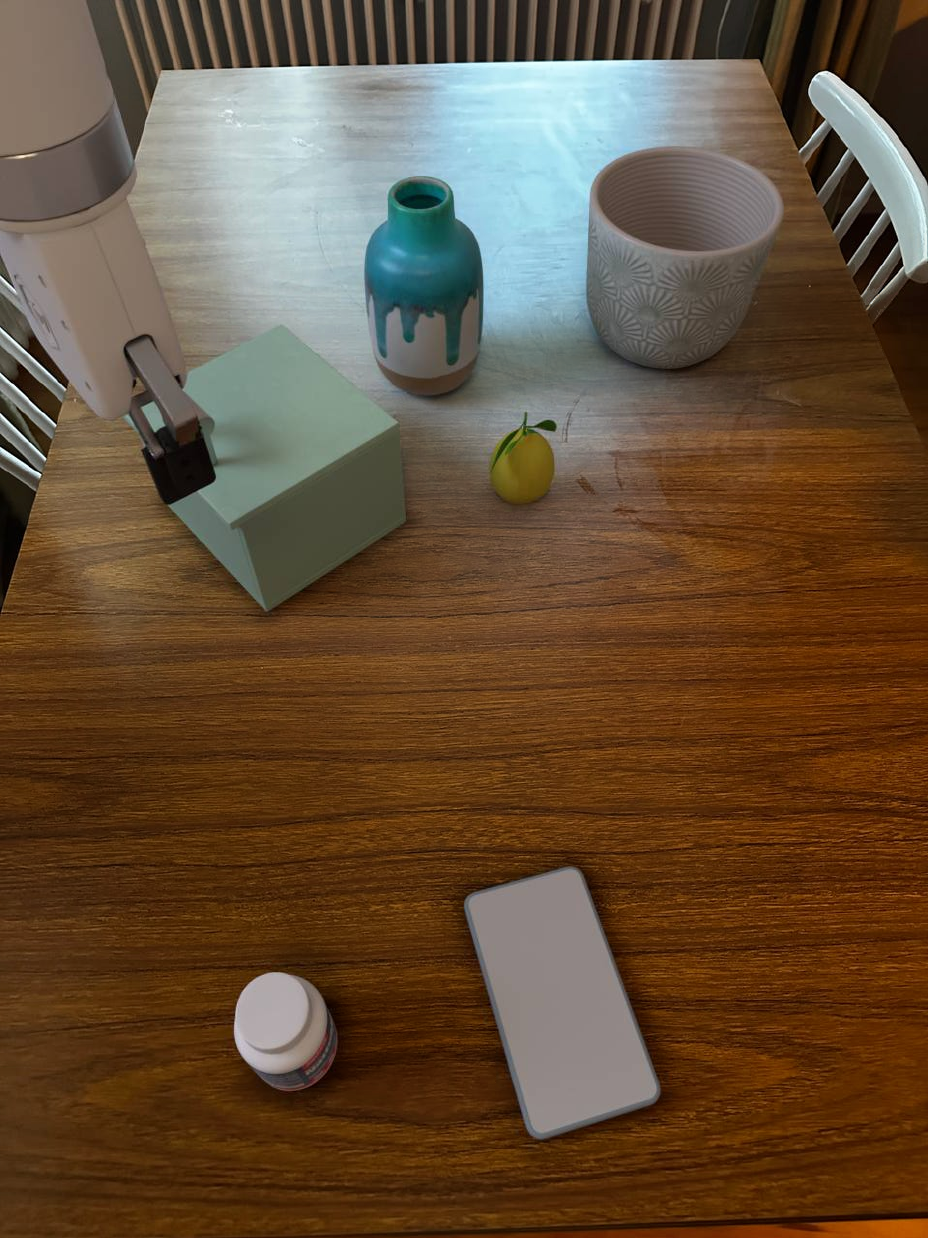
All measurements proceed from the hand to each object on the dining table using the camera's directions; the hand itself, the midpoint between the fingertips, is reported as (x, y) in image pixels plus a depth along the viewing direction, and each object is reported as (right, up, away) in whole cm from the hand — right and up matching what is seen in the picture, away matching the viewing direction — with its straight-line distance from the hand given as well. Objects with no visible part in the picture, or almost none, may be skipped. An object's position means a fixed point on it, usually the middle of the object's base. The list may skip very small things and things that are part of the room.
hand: (149, 440), depth 55 cm
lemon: (+23, 0, +29) cm, 37 cm away
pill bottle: (+8, -37, +4) cm, 38 cm away
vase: (+15, +13, +38) cm, 43 cm away
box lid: (+2, +5, +19) cm, 20 cm away
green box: (+3, -1, +28) cm, 28 cm away
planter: (+38, +18, +42) cm, 59 cm away
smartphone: (+24, -34, +5) cm, 42 cm away
